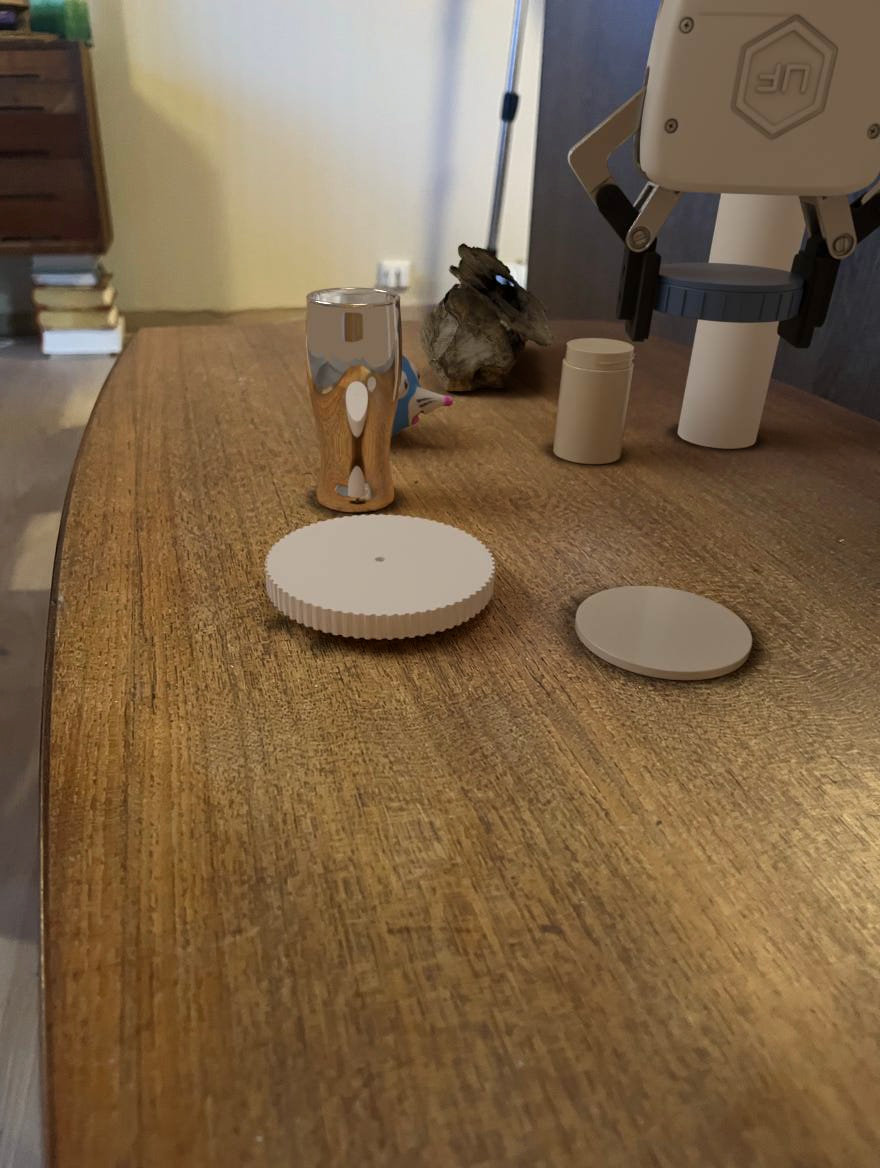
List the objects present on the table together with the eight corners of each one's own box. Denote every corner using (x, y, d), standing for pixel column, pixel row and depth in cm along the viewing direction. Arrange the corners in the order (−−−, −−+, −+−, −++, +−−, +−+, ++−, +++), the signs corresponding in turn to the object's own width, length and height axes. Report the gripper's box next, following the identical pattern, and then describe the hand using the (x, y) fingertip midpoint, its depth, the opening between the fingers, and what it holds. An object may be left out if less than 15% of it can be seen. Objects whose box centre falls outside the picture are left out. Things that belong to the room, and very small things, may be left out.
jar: (630, 450, 80) (646, 343, 75) (606, 469, 75) (622, 357, 71) (568, 438, 82) (580, 334, 78) (541, 455, 78) (553, 347, 73)
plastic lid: (301, 540, 62) (300, 506, 61) (500, 558, 60) (503, 523, 59) (236, 641, 50) (232, 602, 49) (481, 667, 48) (484, 627, 47)
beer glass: (416, 492, 70) (421, 293, 62) (369, 522, 65) (369, 308, 57) (343, 475, 73) (339, 283, 65) (293, 503, 68) (282, 297, 60)
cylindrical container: (678, 444, 81) (735, 132, 68) (676, 421, 87) (729, 131, 74) (759, 451, 80) (833, 135, 67) (751, 428, 86) (818, 133, 73)
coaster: (770, 624, 53) (773, 615, 53) (719, 702, 46) (721, 692, 45) (614, 579, 58) (615, 570, 57) (545, 643, 51) (546, 634, 50)
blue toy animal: (431, 470, 75) (435, 369, 70) (302, 452, 78) (298, 355, 73) (468, 429, 84) (473, 338, 80) (352, 415, 87) (351, 327, 83)
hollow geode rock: (490, 378, 119) (417, 287, 115) (566, 313, 112) (492, 216, 109) (453, 434, 95) (359, 323, 91) (547, 356, 89) (451, 233, 85)
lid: (791, 329, 39) (801, 290, 38) (631, 313, 41) (636, 277, 40) (801, 303, 44) (809, 269, 43) (659, 291, 47) (664, 258, 46)
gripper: (592, -159, 32) (540, 349, 41) (1095, -155, 31) (927, 365, 40) (574, -113, 38) (533, 317, 47) (990, -108, 37) (865, 330, 46)
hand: (713, 336), depth 43 cm, fingers closed on lid, 7 cm apart
